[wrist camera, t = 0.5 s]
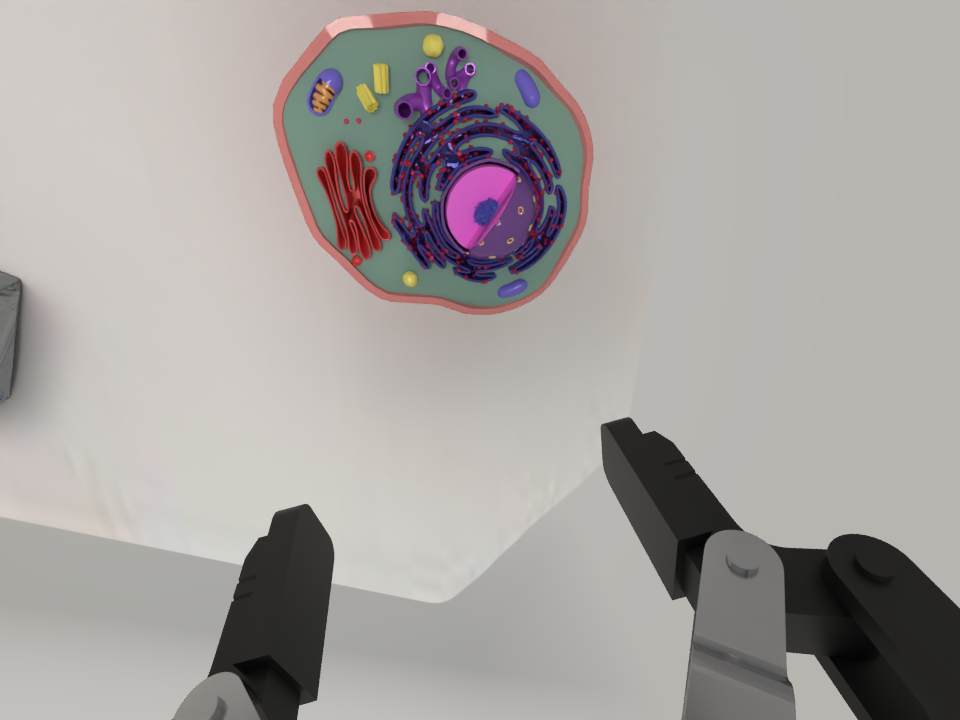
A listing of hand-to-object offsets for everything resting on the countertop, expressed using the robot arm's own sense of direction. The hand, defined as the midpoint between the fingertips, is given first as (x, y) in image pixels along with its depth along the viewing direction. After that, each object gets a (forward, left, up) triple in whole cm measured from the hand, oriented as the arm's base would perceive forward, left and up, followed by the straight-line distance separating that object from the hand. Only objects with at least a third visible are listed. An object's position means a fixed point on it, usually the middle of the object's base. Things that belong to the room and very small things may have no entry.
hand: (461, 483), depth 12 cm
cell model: (-4, +2, -29) cm, 29 cm away
